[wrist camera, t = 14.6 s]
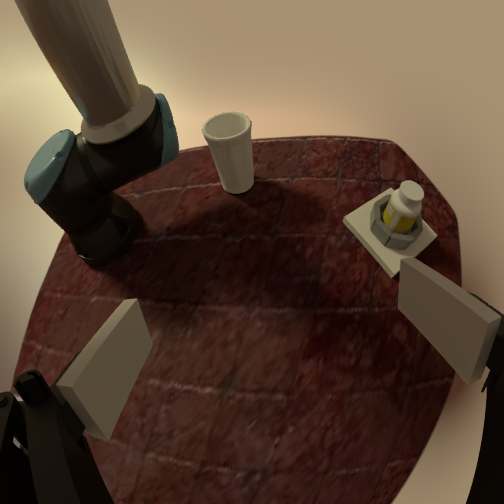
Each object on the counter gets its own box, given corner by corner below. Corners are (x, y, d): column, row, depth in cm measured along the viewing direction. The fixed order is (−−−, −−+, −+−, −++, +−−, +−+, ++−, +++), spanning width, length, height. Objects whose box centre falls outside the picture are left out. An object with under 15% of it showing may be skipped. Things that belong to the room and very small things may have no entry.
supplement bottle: (412, 226, 43) (433, 192, 35) (398, 245, 42) (420, 211, 33) (389, 208, 45) (405, 171, 37) (374, 226, 44) (390, 188, 35)
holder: (342, 222, 47) (347, 206, 43) (388, 192, 49) (395, 177, 45) (391, 278, 41) (401, 266, 37) (433, 239, 43) (444, 226, 39)
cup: (255, 165, 55) (248, 108, 43) (262, 194, 51) (255, 134, 39) (216, 172, 55) (201, 116, 43) (219, 202, 51) (201, 144, 39)
